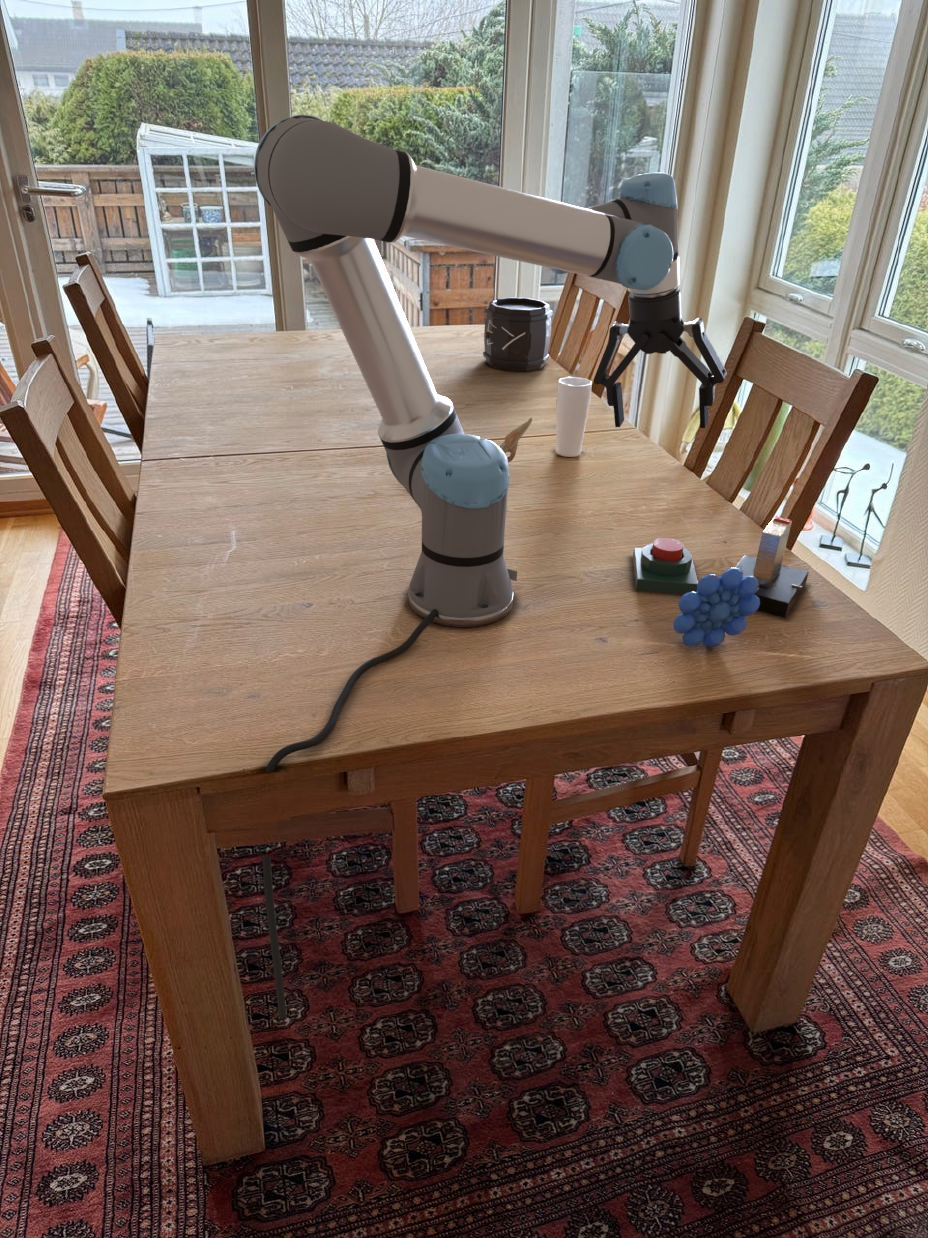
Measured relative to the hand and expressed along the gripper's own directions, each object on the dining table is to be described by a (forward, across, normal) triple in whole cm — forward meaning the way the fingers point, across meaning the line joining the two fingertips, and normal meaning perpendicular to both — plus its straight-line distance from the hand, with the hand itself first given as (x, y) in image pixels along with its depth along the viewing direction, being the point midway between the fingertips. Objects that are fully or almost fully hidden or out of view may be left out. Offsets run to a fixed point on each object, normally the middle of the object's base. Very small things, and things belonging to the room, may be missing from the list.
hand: (661, 424), depth 146 cm
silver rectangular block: (+18, -19, +15) cm, 30 cm away
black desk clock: (+23, +62, -87) cm, 109 cm away
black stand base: (+20, -18, +15) cm, 31 cm away
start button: (+14, -4, +16) cm, 22 cm away
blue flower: (+17, -14, +34) cm, 40 cm away
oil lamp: (+15, +41, -12) cm, 45 cm away
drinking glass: (+20, +27, -28) cm, 44 cm away
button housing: (+18, -3, +17) cm, 25 cm away
